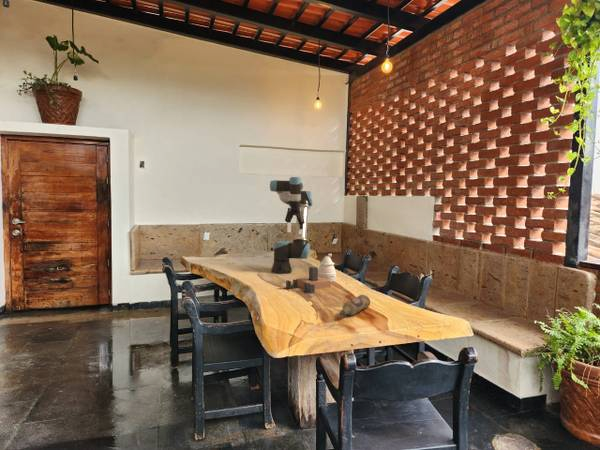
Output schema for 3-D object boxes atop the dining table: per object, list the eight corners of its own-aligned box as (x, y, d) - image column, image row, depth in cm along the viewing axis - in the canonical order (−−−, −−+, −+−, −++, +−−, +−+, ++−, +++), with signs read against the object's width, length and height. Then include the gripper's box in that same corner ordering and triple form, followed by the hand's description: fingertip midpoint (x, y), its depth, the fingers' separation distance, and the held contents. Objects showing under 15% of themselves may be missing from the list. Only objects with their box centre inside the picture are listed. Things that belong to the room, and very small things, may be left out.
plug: (308, 285, 241) (309, 267, 240) (313, 284, 244) (314, 266, 243) (312, 286, 238) (312, 268, 237) (317, 286, 240) (317, 267, 239)
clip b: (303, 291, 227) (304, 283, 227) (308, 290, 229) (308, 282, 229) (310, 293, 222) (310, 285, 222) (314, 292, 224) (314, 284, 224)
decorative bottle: (333, 318, 179) (333, 304, 178) (357, 305, 200) (357, 293, 199) (347, 321, 175) (347, 307, 174) (370, 308, 196) (371, 295, 195)
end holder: (295, 284, 243) (295, 278, 243) (315, 281, 252) (315, 275, 252) (310, 290, 230) (310, 283, 229) (330, 286, 239) (330, 280, 238)
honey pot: (336, 278, 264) (336, 252, 263) (335, 282, 251) (336, 255, 250) (317, 277, 265) (318, 252, 264) (316, 281, 253) (317, 255, 251)
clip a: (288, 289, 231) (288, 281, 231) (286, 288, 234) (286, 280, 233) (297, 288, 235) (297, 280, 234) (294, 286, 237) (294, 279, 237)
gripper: (280, 200, 254) (279, 231, 256) (301, 201, 234) (300, 235, 235) (289, 200, 258) (289, 231, 260) (310, 201, 238) (310, 234, 240)
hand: (294, 233), depth 248 cm, fingers open, 13 cm apart
